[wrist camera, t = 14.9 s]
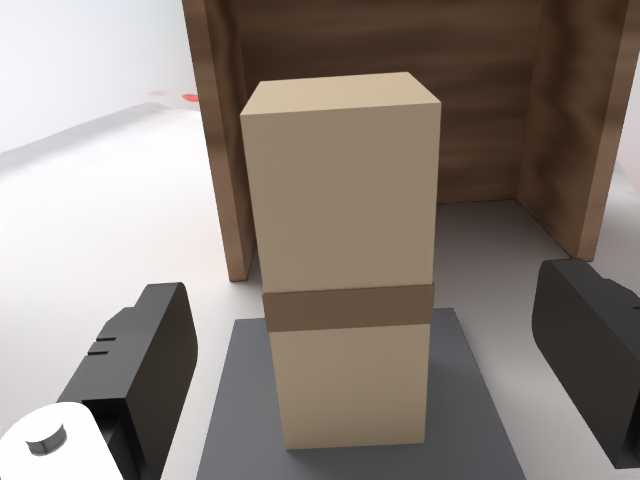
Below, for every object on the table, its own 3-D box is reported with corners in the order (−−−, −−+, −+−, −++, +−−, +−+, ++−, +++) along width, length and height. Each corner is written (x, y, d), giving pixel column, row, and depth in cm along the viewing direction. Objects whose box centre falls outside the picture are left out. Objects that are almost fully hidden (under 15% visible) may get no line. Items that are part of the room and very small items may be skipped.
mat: (539, 529, 15) (541, 517, 15) (186, 545, 15) (182, 533, 15) (452, 317, 25) (452, 307, 25) (236, 329, 25) (235, 319, 25)
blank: (425, 444, 18) (444, 102, 12) (283, 450, 18) (237, 115, 12) (403, 350, 22) (409, 71, 17) (290, 356, 22) (259, 81, 17)
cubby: (593, 260, 29) (669, -86, 21) (229, 281, 29) (173, -51, 22) (524, 193, 39) (559, -63, 31) (251, 209, 39) (217, -39, 31)
